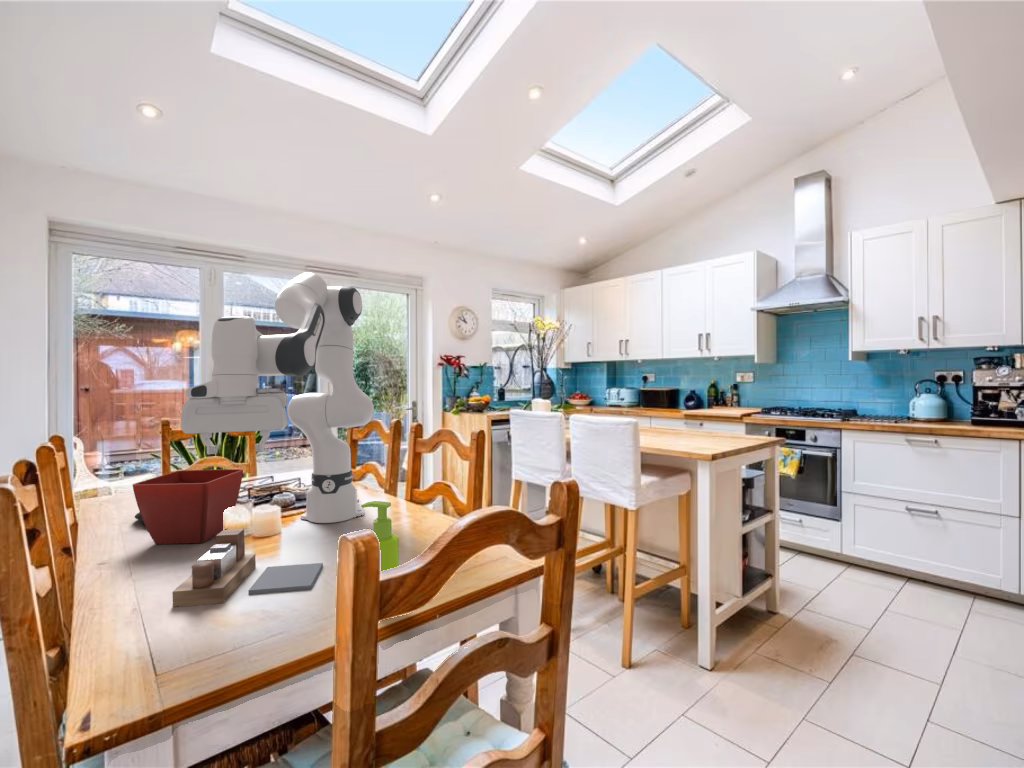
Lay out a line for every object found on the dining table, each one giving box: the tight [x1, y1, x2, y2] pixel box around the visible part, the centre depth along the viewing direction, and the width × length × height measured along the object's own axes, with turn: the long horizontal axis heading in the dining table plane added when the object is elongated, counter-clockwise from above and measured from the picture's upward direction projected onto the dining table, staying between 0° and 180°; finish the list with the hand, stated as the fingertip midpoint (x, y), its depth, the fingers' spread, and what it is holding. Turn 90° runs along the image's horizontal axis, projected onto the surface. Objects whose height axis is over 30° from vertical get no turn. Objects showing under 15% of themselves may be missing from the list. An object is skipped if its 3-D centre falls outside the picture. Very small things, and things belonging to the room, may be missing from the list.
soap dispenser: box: [361, 500, 400, 571], centre depth 92 cm, size 6×7×20 cm
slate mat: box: [248, 562, 324, 595], centre depth 104 cm, size 12×12×1 cm
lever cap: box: [196, 543, 236, 578], centre depth 102 cm, size 8×4×5 cm, turn 10°
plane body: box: [172, 528, 257, 608], centre depth 102 cm, size 18×9×9 cm, turn 10°
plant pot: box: [132, 468, 244, 545], centre depth 133 cm, size 19×19×17 cm
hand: (236, 453), depth 104 cm, fingers open, 8 cm apart
